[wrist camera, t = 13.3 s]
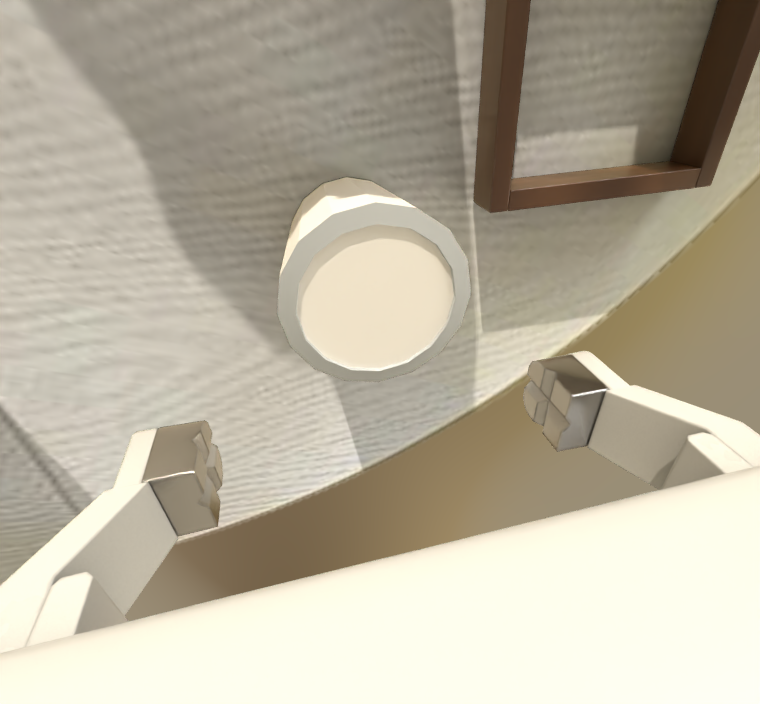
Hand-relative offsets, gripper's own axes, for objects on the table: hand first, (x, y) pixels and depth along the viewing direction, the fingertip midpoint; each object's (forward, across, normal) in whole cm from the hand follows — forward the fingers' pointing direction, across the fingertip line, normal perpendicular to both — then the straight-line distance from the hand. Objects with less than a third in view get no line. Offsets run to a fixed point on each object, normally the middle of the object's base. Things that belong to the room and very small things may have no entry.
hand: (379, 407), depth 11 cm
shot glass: (+12, -1, 0) cm, 12 cm away
